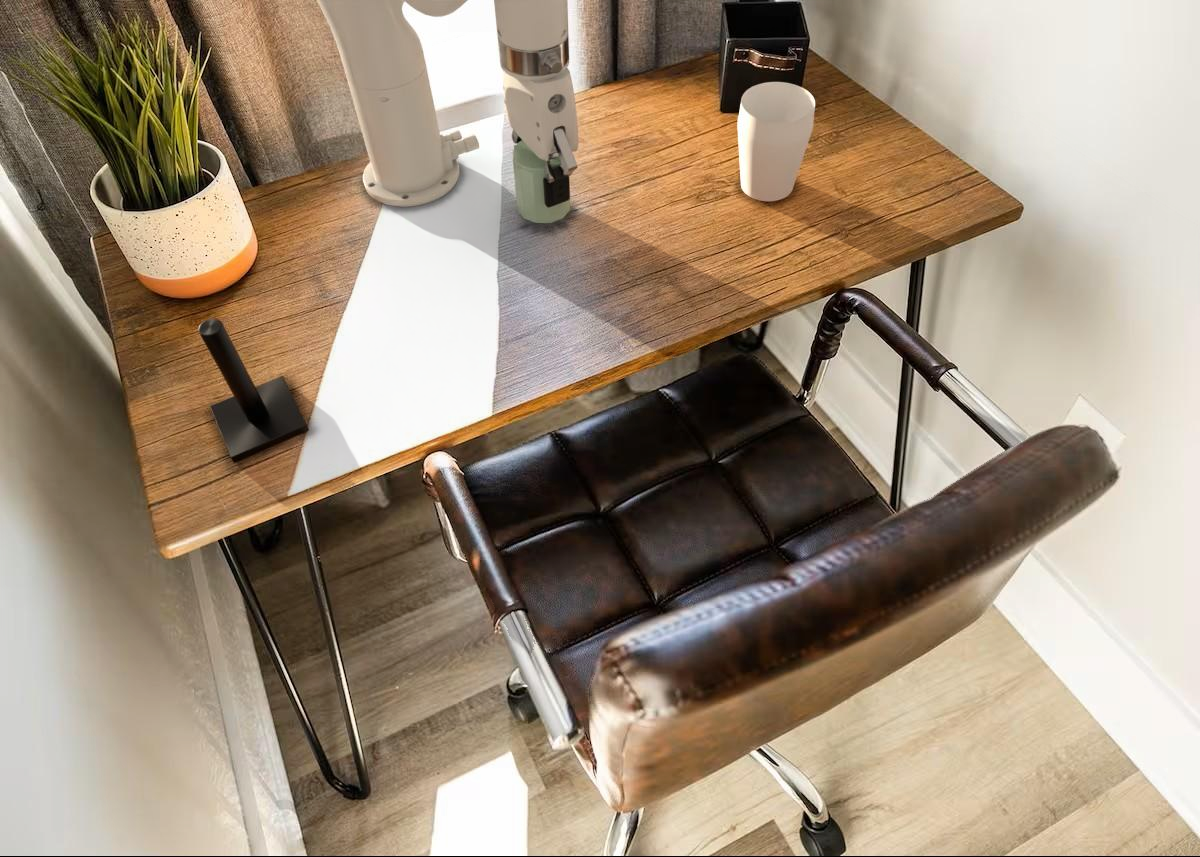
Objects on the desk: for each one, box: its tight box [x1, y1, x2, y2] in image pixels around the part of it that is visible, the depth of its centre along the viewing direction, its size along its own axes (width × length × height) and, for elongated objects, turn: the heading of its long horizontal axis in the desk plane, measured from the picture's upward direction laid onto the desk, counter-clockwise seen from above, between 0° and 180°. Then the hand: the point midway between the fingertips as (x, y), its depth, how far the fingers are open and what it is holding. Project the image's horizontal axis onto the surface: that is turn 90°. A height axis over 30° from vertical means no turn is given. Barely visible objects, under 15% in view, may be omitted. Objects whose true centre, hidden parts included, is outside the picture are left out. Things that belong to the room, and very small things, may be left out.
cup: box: [736, 81, 816, 202], centre depth 110 cm, size 9×9×12 cm
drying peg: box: [197, 318, 310, 464], centre depth 88 cm, size 8×8×14 cm
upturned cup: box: [512, 140, 571, 224], centre depth 109 cm, size 7×7×8 cm
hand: (542, 185), depth 110 cm, fingers closed on upturned cup, 6 cm apart
